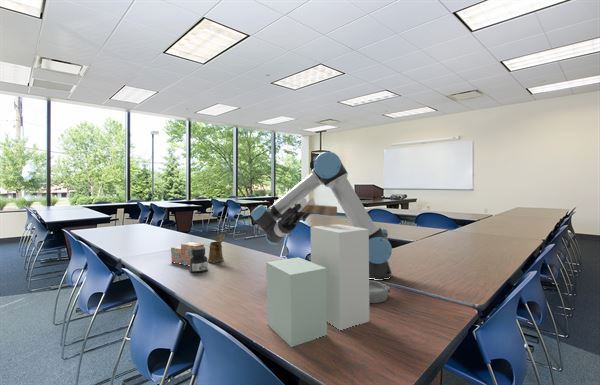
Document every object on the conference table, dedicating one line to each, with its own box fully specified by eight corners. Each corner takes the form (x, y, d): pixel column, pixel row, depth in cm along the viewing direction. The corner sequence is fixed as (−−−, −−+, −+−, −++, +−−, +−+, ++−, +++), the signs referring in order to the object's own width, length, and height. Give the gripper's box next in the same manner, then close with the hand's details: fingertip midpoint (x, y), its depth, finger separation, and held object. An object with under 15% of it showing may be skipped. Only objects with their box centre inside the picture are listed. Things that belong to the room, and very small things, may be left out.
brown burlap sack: (215, 265, 168) (214, 233, 167) (205, 261, 178) (204, 231, 178) (229, 262, 173) (229, 232, 173) (219, 258, 184) (218, 229, 183)
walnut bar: (294, 211, 122) (294, 203, 122) (301, 210, 124) (300, 203, 123) (330, 215, 101) (330, 206, 101) (337, 215, 103) (337, 206, 103)
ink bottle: (193, 274, 151) (192, 251, 151) (186, 271, 158) (186, 248, 157) (211, 270, 158) (210, 248, 157) (204, 267, 164) (203, 245, 164)
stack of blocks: (171, 263, 175) (170, 242, 175) (180, 260, 180) (179, 240, 180) (195, 268, 164) (195, 245, 164) (204, 265, 169) (204, 243, 169)
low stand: (267, 324, 96) (266, 262, 95) (299, 315, 102) (298, 257, 101) (291, 347, 82) (290, 274, 81) (326, 335, 88) (326, 268, 88)
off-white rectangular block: (311, 312, 104) (310, 226, 104) (338, 304, 110) (337, 224, 110) (340, 330, 91) (339, 232, 90) (369, 321, 97) (368, 229, 96)
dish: (368, 307, 108) (368, 293, 108) (345, 295, 121) (345, 283, 120) (397, 299, 115) (397, 287, 115) (373, 289, 127) (373, 277, 127)
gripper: (302, 232, 135) (329, 208, 118) (270, 235, 127) (294, 211, 109) (298, 217, 138) (323, 192, 121) (266, 219, 130) (288, 193, 112)
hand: (309, 201), depth 115 cm, fingers closed on walnut bar, 3 cm apart
